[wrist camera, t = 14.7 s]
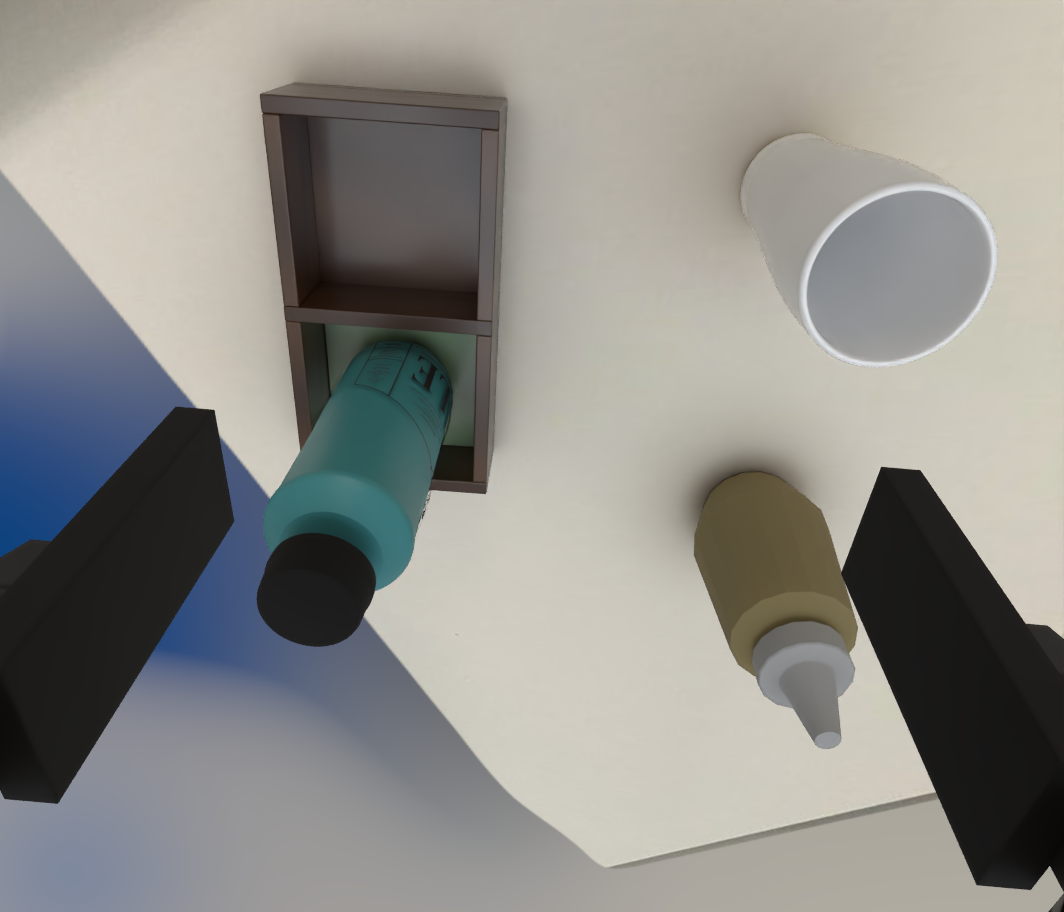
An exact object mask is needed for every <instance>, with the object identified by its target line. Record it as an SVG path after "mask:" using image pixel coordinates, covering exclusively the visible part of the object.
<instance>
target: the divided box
mask: <svg viewBox="0 0 1064 912" xmlns="http://www.w3.org/2000/svg"><path fill="white" fill-rule="evenodd" d="M260 101H261V109H262V113H263V114H262V117H263V126H264V135H265V144H266V152H267V161H268V170H269V179H270V188H271V196H272V205H273V214H274V223H275V231H276V240H277V249H278V258H279V266H280V275H281V284H282V293H283V301H284V312H285V320H286V329H287V338H288V347H289V355H290V364H291V373H292V382H293V390H294V399H295V408H296V417H297V425H298V434H299V443H300V451H301V449H302V448H303V446H304V444H305V443H306V441H307V439H308V437H309V436H310V434H311V432H312V431H313V429H314V427H315V425H316V424H315V423H317V421H318V419H319V417H320V415H321V413H322V411H323V410H324V408H325V406H326V404H327V403H328V401H329V399H330V397H331V395H332V394H333V393H330V391H331V392H332V391H333V390H334V389H335V388H336V387H337V385H338V383H337V379H338V377H341V378H342V376H343V374H344V372H345V371H346V369H347V367H348V365H349V364H350V362H351V361H352V360H353V358H354V357H355V356H356V355H357V354H358V353H359V352H361V351H362V350H363V349H365V348H367V347H368V346H371V345H373V344H375V343H377V342H379V341H386V340H401V341H407V342H411V343H414V344H417V345H419V346H421V347H423V348H425V349H427V350H428V351H430V352H431V353H432V354H433V355H434V356H435V357H436V358H437V359H439V361H440V362H441V363H442V365H443V366H444V367H445V369H446V370H447V372H448V373H449V374H448V373H447V374H448V376H449V375H450V376H449V378H450V381H451V380H452V381H451V384H452V383H453V384H452V389H453V395H454V396H453V405H452V411H451V416H450V419H451V421H449V423H450V425H448V421H447V425H448V426H449V428H448V431H447V434H446V436H445V433H446V429H447V425H446V428H445V432H444V435H443V436H445V439H446V440H445V439H444V441H443V439H442V441H443V444H442V447H441V448H442V452H441V450H439V454H438V457H437V461H436V465H437V466H436V465H435V466H436V467H435V468H436V469H434V470H435V471H434V474H433V476H432V479H431V480H432V481H431V483H430V487H429V490H430V489H431V488H432V489H431V490H438V491H452V492H465V493H479V494H486V492H487V486H488V480H489V474H490V468H491V462H492V456H493V447H494V422H495V397H496V372H497V347H498V322H499V297H500V272H501V247H502V222H503V197H504V173H505V148H506V123H507V98H501V97H487V96H474V95H460V94H446V93H432V92H418V91H404V90H390V89H376V88H363V87H349V86H335V85H321V84H307V83H292V84H288V85H285V86H282V87H279V88H276V89H273V90H270V91H267V92H264V93H261V94H260ZM345 365H346V366H345ZM342 370H343V371H342ZM341 371H342V374H341ZM340 374H341V375H340ZM341 378H339V379H338V380H339V381H340V380H341ZM335 383H337V385H336V384H335ZM333 386H335V387H333ZM453 386H454V387H453ZM331 389H332V390H331ZM454 391H455V392H454ZM333 392H334V391H333ZM329 393H330V394H329ZM329 395H330V397H329ZM326 398H327V400H328V401H327V400H326ZM326 401H327V403H326ZM324 402H325V403H324ZM454 404H455V405H454ZM323 405H324V406H323ZM322 406H323V407H324V408H323V407H322ZM322 408H323V410H322ZM320 409H321V410H320ZM318 413H319V414H320V415H319V414H318ZM317 414H318V415H319V417H317V416H318V415H317ZM314 419H315V420H314ZM448 419H449V417H448ZM315 421H316V422H315ZM312 424H313V425H312ZM310 430H311V431H310ZM309 433H310V434H309ZM443 438H444V437H443ZM434 477H435V480H434Z"/></svg>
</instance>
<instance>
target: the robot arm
mask: <svg viewBox="0 0 1064 912" xmlns="http://www.w3.org/2000/svg"><path fill="white" fill-rule="evenodd" d="M233 522H234V517H233V512H232V506H231V501H230V495H229V489H228V483H227V478H226V472H225V467H224V461H223V455H222V451H221V444H220V438H219V433H218V427H217V421H216V416H215V410H209V409H197V408H184V407H175V408H174V409H173V410H172V411H171V412H170V413H169V415H168V416H167V417H166V418H165V419H164V420H163V421H162V422H161V423H160V424H159V425H158V427H157V428H156V429H155V430H154V431H153V432H152V433H151V434H150V435H149V436H148V437H147V439H146V440H145V441H144V442H143V443H142V444H141V445H140V446H139V447H138V448H137V449H136V450H135V451H134V453H133V454H132V455H131V456H130V457H129V458H128V459H127V460H126V461H125V462H124V463H123V464H122V466H121V467H120V468H119V469H118V470H117V471H116V472H115V473H114V474H113V475H112V476H111V477H110V479H109V480H108V481H107V482H106V483H105V484H104V485H103V486H102V487H101V488H100V489H99V490H98V492H97V493H96V494H95V495H94V496H93V497H92V498H91V499H90V500H89V501H88V502H87V504H86V505H85V506H84V507H83V508H82V509H81V510H80V511H79V512H78V513H77V514H76V515H75V516H74V518H73V519H72V520H71V521H70V522H69V523H68V524H67V525H66V526H65V527H64V528H63V530H62V531H61V532H60V533H59V534H58V535H57V536H56V537H55V538H54V539H53V540H52V541H41V540H29V541H27V542H26V543H24V544H22V545H20V546H19V547H17V548H15V549H14V550H13V551H11V552H9V553H7V554H5V555H4V556H2V557H0V791H1V793H2V795H3V797H4V798H5V799H10V800H22V801H33V802H45V803H55V804H58V802H59V801H60V799H61V798H62V796H63V795H64V793H65V792H66V790H67V788H68V787H69V785H70V783H71V782H72V780H73V779H74V777H75V776H76V774H77V772H78V771H79V769H80V768H81V766H82V764H83V763H84V761H85V759H86V758H87V756H88V755H89V753H90V751H91V750H92V748H93V747H94V745H95V744H96V742H97V740H98V739H99V737H100V735H101V734H102V732H103V731H104V729H105V727H106V726H107V724H108V723H109V721H110V719H111V718H112V716H113V715H114V713H115V711H116V710H117V708H118V707H119V705H120V703H121V702H122V700H123V699H124V697H125V695H126V694H127V692H128V691H129V689H130V687H131V686H132V684H133V683H134V681H135V679H136V678H137V676H138V675H139V673H140V671H141V670H142V668H143V666H144V665H145V663H146V662H147V660H148V659H149V657H150V655H151V654H152V652H153V651H154V649H155V647H156V646H157V644H158V643H159V641H160V639H161V638H162V636H163V635H164V633H165V631H166V630H167V628H168V627H169V625H170V623H171V622H172V620H173V618H174V617H175V615H176V614H177V612H178V611H179V609H180V607H181V606H182V604H183V603H184V601H185V599H186V598H187V596H188V595H189V593H190V591H191V590H192V588H193V587H194V585H195V583H196V582H197V580H198V578H199V577H200V575H201V574H202V572H203V570H204V569H205V567H206V566H207V564H208V562H209V561H210V559H211V558H212V556H213V555H214V553H215V551H216V550H217V548H218V547H219V545H220V543H221V542H222V540H223V538H224V537H225V535H226V534H227V532H228V531H229V529H230V527H231V526H232V524H233ZM841 575H842V577H843V580H844V582H845V584H846V586H847V589H848V591H849V593H850V596H851V598H852V600H853V602H854V605H855V607H856V609H857V612H858V614H859V616H860V619H861V621H862V623H863V625H864V628H865V630H866V632H867V635H868V637H869V639H870V641H871V644H872V646H873V648H874V651H875V653H876V655H877V658H878V660H879V662H880V664H881V667H882V669H883V671H884V674H885V676H886V678H887V680H888V683H889V685H890V687H891V690H892V692H893V694H894V697H895V699H896V701H897V703H898V706H899V708H900V710H901V713H902V715H903V717H904V719H905V722H906V724H907V726H908V729H909V731H910V733H911V736H912V738H913V740H914V742H915V745H916V747H917V749H918V752H919V754H920V756H921V758H922V761H923V763H924V765H925V768H926V770H927V772H928V775H929V777H930V779H931V781H932V784H933V786H934V788H935V791H936V793H937V795H938V797H939V800H940V802H941V804H942V807H943V809H944V811H945V813H946V816H947V818H948V820H949V823H950V825H951V827H952V830H953V832H954V834H955V837H956V839H957V841H958V843H959V846H960V848H961V850H962V852H963V855H964V857H965V859H966V862H967V864H968V866H969V869H970V871H971V873H972V875H973V878H974V880H975V882H976V885H981V886H993V887H1003V888H1015V889H1026V890H1031V889H1032V888H1033V886H1034V885H1035V884H1036V883H1037V881H1038V880H1039V878H1040V877H1041V876H1042V875H1043V874H1044V872H1045V871H1046V870H1047V869H1048V867H1049V866H1050V867H1051V868H1052V871H1053V872H1054V874H1055V876H1056V878H1057V880H1058V882H1059V884H1060V886H1061V888H1062V889H1063V891H1064V639H1063V638H1062V637H1061V636H1059V635H1058V634H1057V633H1056V632H1055V631H1053V630H1052V629H1051V628H1050V627H1048V626H1046V625H1034V624H1025V622H1024V621H1023V619H1022V618H1021V616H1020V615H1019V613H1018V612H1017V611H1016V609H1015V608H1014V606H1013V605H1012V603H1011V602H1010V600H1009V599H1008V597H1007V596H1006V594H1005V593H1004V592H1003V590H1002V589H1001V587H1000V586H999V584H998V583H997V581H996V580H995V578H994V577H993V576H992V574H991V573H990V571H989V570H988V568H987V567H986V565H985V564H984V562H983V561H982V559H981V558H980V557H979V555H978V554H977V552H976V551H975V549H974V548H973V546H972V545H971V543H970V542H969V540H968V539H967V538H966V536H965V535H964V533H963V532H962V530H961V529H960V527H959V526H958V524H957V523H956V521H955V520H954V519H953V517H952V516H951V514H950V513H949V511H948V510H947V508H946V507H945V505H944V504H943V503H942V501H941V500H940V498H939V497H938V495H937V494H936V492H935V491H934V489H933V488H932V486H931V485H930V484H929V482H928V481H927V479H926V478H925V476H924V475H923V473H922V472H921V470H911V469H899V468H888V467H881V469H880V472H879V474H878V477H877V480H876V482H875V485H874V488H873V490H872V493H871V496H870V498H869V501H868V503H867V506H866V509H865V511H864V514H863V517H862V519H861V522H860V525H859V527H858V530H857V533H856V535H855V538H854V541H853V543H852V546H851V548H850V551H849V554H848V556H847V559H846V562H845V564H844V567H843V570H842V572H841ZM1049 912H1064V894H1063V895H1062V896H1061V897H1060V898H1059V900H1058V901H1057V902H1056V903H1055V905H1054V906H1053V907H1052V908H1051V909H1050V910H1049Z"/></svg>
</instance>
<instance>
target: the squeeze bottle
mask: <svg viewBox="0 0 1064 912" xmlns="http://www.w3.org/2000/svg"><path fill="white" fill-rule="evenodd" d="M694 557H695V559H696V562H697V564H698V567H699V570H700V572H701V575H702V577H703V580H704V583H705V585H706V588H707V590H708V593H709V596H710V598H711V601H712V603H713V606H714V609H715V611H716V614H717V616H718V619H719V622H720V624H721V627H722V629H723V632H724V635H725V637H726V640H727V642H728V645H729V647H730V650H731V652H732V654H733V656H734V658H735V659H736V661H737V663H738V665H739V666H741V667H742V668H744V669H745V670H746V671H748V672H749V673H751V674H752V675H753V676H756V679H757V682H758V685H759V687H760V689H761V691H762V693H763V695H764V696H765V697H767V698H768V699H770V700H771V701H772V702H774V703H775V704H777V705H781V706H785V707H789V708H793V709H794V710H795V712H796V714H797V715H798V717H799V718H800V720H801V722H802V723H803V725H804V727H805V728H806V730H807V732H808V733H809V735H810V736H811V738H812V740H813V741H814V743H815V745H816V746H818V747H819V748H822V749H830V748H834V747H836V746H837V745H839V743H840V742H841V730H840V719H839V708H838V697H839V696H841V695H843V693H844V692H845V691H846V689H847V688H848V687H849V686H850V684H851V683H852V682H853V677H854V672H855V667H854V665H853V662H852V660H851V657H850V655H849V652H850V651H851V650H852V648H853V647H854V646H855V641H856V636H857V630H858V626H857V623H856V619H855V616H854V613H853V609H852V606H851V603H850V599H849V596H848V593H847V589H846V586H845V582H844V580H843V577H842V575H841V569H840V566H839V562H838V559H837V556H836V552H835V549H834V545H833V542H832V539H831V535H830V532H829V529H828V526H827V524H826V521H825V519H824V516H823V514H822V511H821V510H820V509H819V508H818V507H817V506H816V505H815V504H813V503H812V502H811V501H810V500H809V499H807V498H806V497H805V496H804V495H803V494H801V493H800V492H798V491H797V490H796V489H794V488H793V487H791V486H790V485H789V484H787V483H786V482H784V481H783V480H782V479H780V478H779V477H777V476H773V475H770V474H767V473H763V472H748V473H741V474H738V475H735V476H733V477H730V478H728V479H725V480H724V481H723V482H721V483H720V484H719V485H718V486H717V487H715V488H714V489H713V490H712V491H711V493H710V495H709V497H708V498H707V500H706V502H705V504H704V507H703V510H702V513H701V516H700V519H699V523H698V526H697V529H696V532H695V540H694Z"/></svg>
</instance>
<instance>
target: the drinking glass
mask: <svg viewBox="0 0 1064 912" xmlns="http://www.w3.org/2000/svg"><path fill="white" fill-rule="evenodd" d="M741 207H742V211H743V214H744V216H745V219H746V220H747V222H748V224H749V225H750V227H751V228H752V229H753V231H754V234H755V236H756V239H757V241H758V243H759V246H760V248H761V251H762V253H763V256H764V258H765V261H766V264H767V266H768V269H769V271H770V274H771V276H772V278H773V281H774V283H775V285H776V288H777V290H778V292H779V294H780V295H781V297H782V299H783V301H784V302H785V304H786V306H787V307H788V309H789V310H790V312H791V313H792V314H793V316H794V317H795V318H796V320H797V321H798V322H799V324H800V325H801V326H802V327H803V329H804V330H805V331H806V332H807V333H808V334H809V335H810V337H811V338H812V339H813V340H814V341H815V343H816V344H817V345H818V346H819V347H820V348H822V349H823V350H824V351H825V352H827V353H828V354H830V355H831V356H833V357H835V358H837V359H839V360H841V361H843V362H846V363H849V364H853V365H857V366H863V367H891V366H897V365H902V364H905V363H909V362H912V361H915V360H918V359H920V358H922V357H925V356H927V355H929V354H931V353H933V352H935V351H936V350H938V349H940V348H941V347H943V346H944V345H946V344H947V343H948V342H950V341H951V340H952V339H954V338H955V337H956V336H957V335H958V334H959V333H961V332H962V331H963V330H964V329H965V328H966V327H967V326H968V324H969V323H970V322H971V321H972V320H973V319H974V317H975V316H976V315H977V313H978V312H979V310H980V309H981V307H982V306H983V304H984V302H985V300H986V298H987V296H988V294H989V292H990V290H991V287H992V284H993V281H994V278H995V274H996V269H997V260H998V247H997V240H996V236H995V232H994V229H993V226H992V224H991V222H990V220H989V218H988V216H987V215H986V213H985V212H984V210H983V209H982V208H981V206H980V205H979V204H978V203H977V202H976V201H975V200H973V199H972V198H971V197H970V196H968V195H967V194H965V193H964V192H962V191H960V190H959V189H958V188H956V187H955V186H953V185H952V184H950V183H949V182H947V181H945V180H944V179H942V178H940V177H938V176H937V175H935V174H933V173H931V172H929V171H927V170H925V169H923V168H921V167H919V166H916V165H914V164H911V163H909V162H906V161H903V160H900V159H897V158H894V157H890V156H886V155H883V154H878V153H874V152H870V151H866V150H862V149H858V148H854V147H850V146H846V145H842V144H838V143H835V142H832V141H830V140H828V139H826V138H824V137H822V136H819V135H815V134H810V133H797V134H791V135H787V136H784V137H781V138H779V139H777V140H775V141H773V142H772V143H770V144H769V145H767V146H766V147H765V148H764V149H762V150H761V151H760V152H759V153H758V154H757V155H756V157H755V158H754V159H753V161H752V162H751V163H750V165H749V167H748V169H747V171H746V173H745V175H744V178H743V181H742V186H741Z"/></svg>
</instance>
